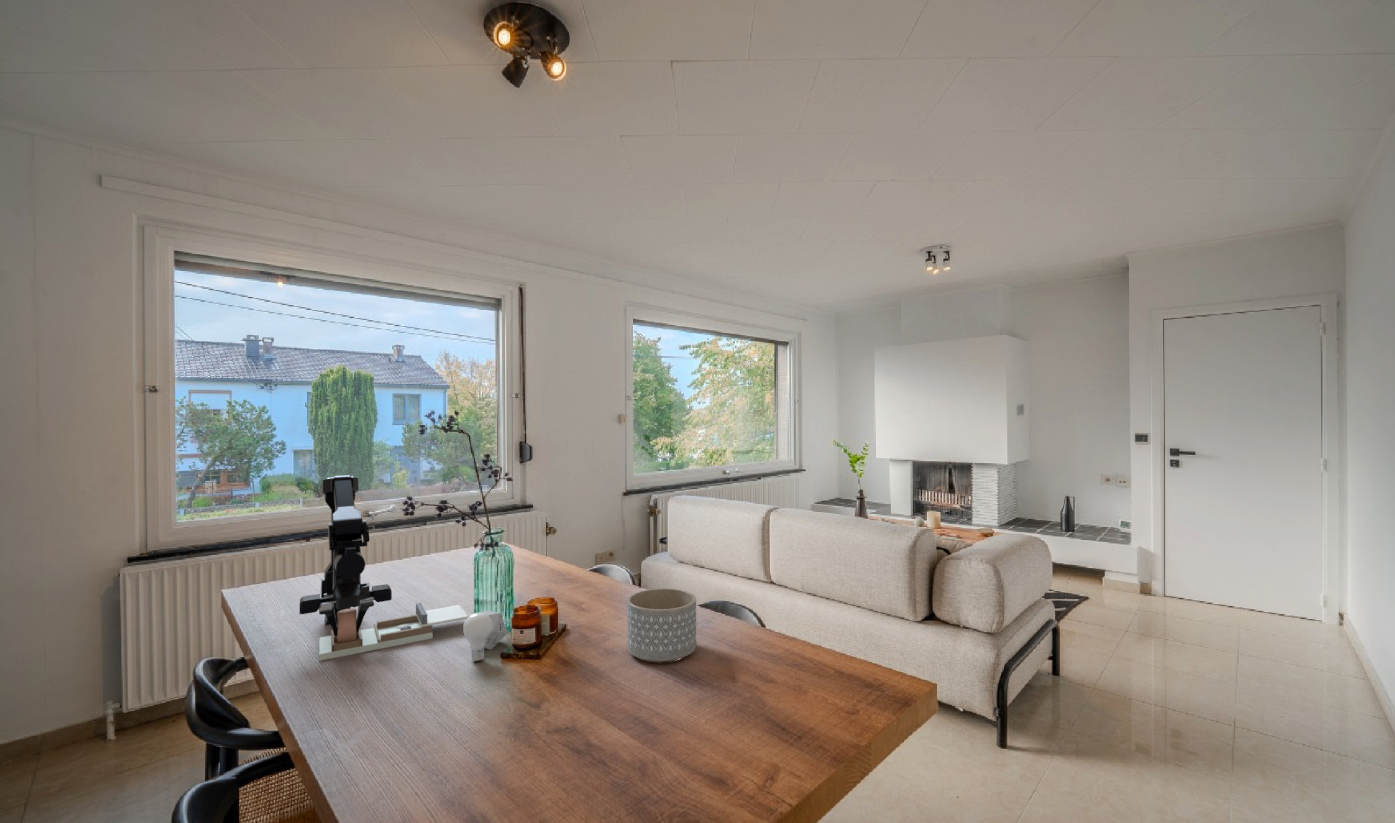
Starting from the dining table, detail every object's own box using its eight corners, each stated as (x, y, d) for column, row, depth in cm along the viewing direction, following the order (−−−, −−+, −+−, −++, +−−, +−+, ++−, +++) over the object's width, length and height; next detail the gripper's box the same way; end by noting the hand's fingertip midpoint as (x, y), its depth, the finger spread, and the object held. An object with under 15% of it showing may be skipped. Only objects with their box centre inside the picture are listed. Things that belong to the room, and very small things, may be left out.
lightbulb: (456, 663, 131) (456, 615, 131) (479, 653, 136) (479, 606, 136) (476, 669, 128) (476, 619, 128) (498, 658, 133) (498, 611, 133)
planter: (665, 673, 126) (665, 615, 126) (613, 654, 136) (613, 600, 136) (709, 648, 139) (709, 596, 139) (658, 633, 149) (658, 584, 149)
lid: (415, 614, 154) (415, 603, 154) (459, 606, 160) (459, 596, 160) (422, 627, 145) (422, 615, 145) (467, 618, 151) (467, 607, 151)
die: (470, 659, 135) (497, 624, 135) (453, 632, 139) (478, 599, 140) (495, 659, 142) (520, 626, 142) (478, 634, 147) (502, 602, 147)
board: (319, 643, 142) (319, 631, 142) (425, 624, 156) (425, 612, 156) (319, 660, 132) (319, 647, 132) (432, 638, 146) (432, 626, 146)
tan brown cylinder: (336, 639, 139) (336, 610, 139) (355, 635, 141) (356, 607, 141) (337, 644, 135) (337, 615, 135) (356, 641, 137) (357, 612, 137)
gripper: (299, 583, 126) (298, 654, 126) (394, 570, 137) (394, 636, 136) (300, 572, 136) (300, 638, 135) (389, 561, 146) (389, 622, 146)
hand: (346, 633), depth 138 cm, fingers closed on tan brown cylinder, 4 cm apart
